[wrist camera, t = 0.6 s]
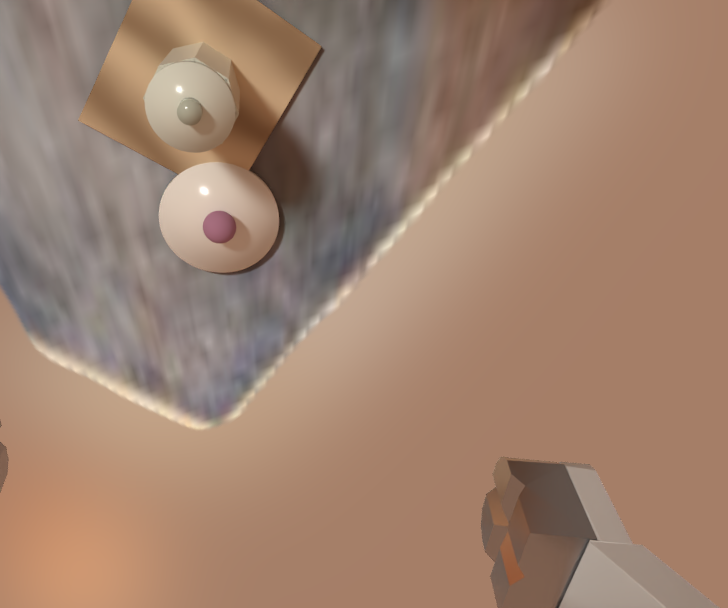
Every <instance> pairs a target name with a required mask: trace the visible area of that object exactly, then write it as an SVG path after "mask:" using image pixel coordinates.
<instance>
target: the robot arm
mask: <svg viewBox="0 0 728 608" xmlns="http://www.w3.org/2000/svg"><path fill="white" fill-rule="evenodd" d="M1 426H2V425H1V421H0V427H1ZM7 471H8V456H7V449H6V447H5V446H4V445H3V444H2V443H1V442H0V492H1V489H2V487H3V484H4V481H5V478H6V476H7ZM493 477H494V481H495V485H496V487H495V488H494V489H493V490H491V491H490V492H488V493H487V494H486V497H485V501H484V505H483V508H482V520H481V530H482V539H483V545H484V549H485V552H486V553H487V554H488V555H489V557H490V558H491V559H492V560H493V561H494V562H495V564H494V567H493V570H492V573H491V580H492V585H493V589H494V594H495V598H496V602H497V607H498V608H719V607H718V606H717V605H715V604H714V603H713V602H712V601H710V600H709V599H708V598H707V597H705V596H704V595H703V594H702V593H701V592H699V591H698V590H697V589H696V588H694V587H693V586H692V585H691V584H690V583H688V582H687V581H686V580H685V579H683V578H682V577H681V576H680V575H678V574H677V573H676V572H675V571H674V570H672V569H671V568H670V567H669V566H667V565H666V564H665V563H664V562H663V561H661V560H660V559H659V558H658V557H656V556H655V555H654V554H653V553H651V552H650V551H649V550H648V549H647V548H645V547H644V546H643V545H635V544H633V543H632V541H631V539H630V537H629V535H628V533H627V531H626V529H625V527H624V525H623V523H622V521H621V519H620V517H619V515H618V513H617V511H616V510H615V507H614V506H613V504H612V502H611V500H610V498H609V496H608V494H607V492H606V490H605V488H604V486H603V484H602V482H601V480H600V478H599V476H598V474H597V472H596V470H595V469H594V468H593V467H592V466H591V465H589V464H579V463H567V462H559V463H557V462H550V461H539V460H528V459H517V458H507V457H501V458H500V459H499V460H498V462H497V463H496V466H495V469H494V472H493Z"/></svg>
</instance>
